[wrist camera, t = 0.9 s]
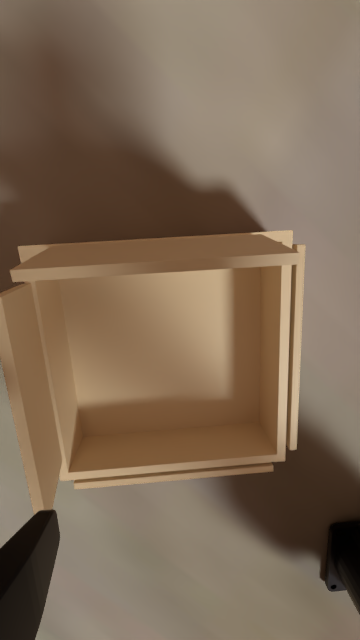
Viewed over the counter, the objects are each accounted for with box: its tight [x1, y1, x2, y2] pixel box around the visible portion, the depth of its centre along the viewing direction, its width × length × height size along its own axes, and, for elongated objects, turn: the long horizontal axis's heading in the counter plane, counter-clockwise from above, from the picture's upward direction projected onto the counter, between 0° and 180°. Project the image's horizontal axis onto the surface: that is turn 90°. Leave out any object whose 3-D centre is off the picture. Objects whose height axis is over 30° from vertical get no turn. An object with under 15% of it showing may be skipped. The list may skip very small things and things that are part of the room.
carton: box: [18, 230, 305, 489], centre depth 18 cm, size 14×14×4 cm
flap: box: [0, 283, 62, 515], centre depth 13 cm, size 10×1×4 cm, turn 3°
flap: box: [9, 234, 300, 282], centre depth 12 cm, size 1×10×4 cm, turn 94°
